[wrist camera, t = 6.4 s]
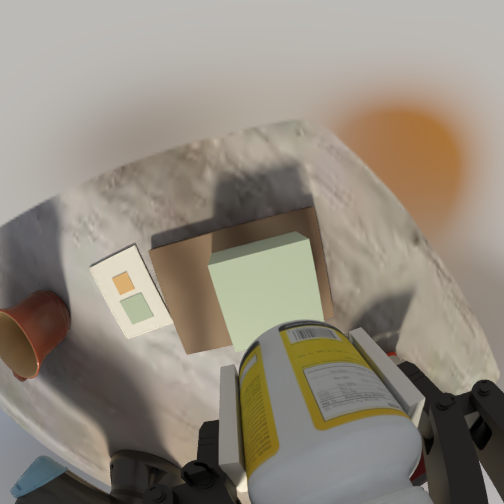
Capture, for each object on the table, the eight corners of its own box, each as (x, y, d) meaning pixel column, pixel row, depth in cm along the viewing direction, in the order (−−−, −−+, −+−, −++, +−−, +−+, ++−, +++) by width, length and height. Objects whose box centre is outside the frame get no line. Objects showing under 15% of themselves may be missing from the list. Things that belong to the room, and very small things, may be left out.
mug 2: (402, 462, 44) (419, 490, 33) (374, 471, 43) (389, 502, 32) (423, 432, 41) (445, 462, 30) (394, 442, 40) (415, 476, 30)
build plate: (188, 349, 31) (186, 354, 30) (151, 248, 29) (148, 251, 27) (330, 312, 32) (333, 316, 31) (310, 206, 29) (314, 207, 28)
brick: (234, 328, 30) (235, 352, 25) (211, 253, 28) (207, 265, 23) (311, 307, 30) (325, 327, 25) (295, 231, 28) (309, 238, 23)
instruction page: (128, 338, 31) (127, 339, 30) (90, 267, 28) (88, 268, 28) (174, 321, 31) (173, 323, 30) (135, 244, 28) (134, 245, 28)
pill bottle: (252, 413, 15) (275, 580, 4) (224, 330, 14) (225, 567, 2) (350, 386, 15) (432, 527, 4) (344, 299, 14) (497, 460, 2)
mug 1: (36, 270, 28) (-12, 294, 18) (83, 302, 29) (40, 339, 19) (28, 335, 30) (-8, 367, 20) (70, 365, 31) (39, 405, 21)
